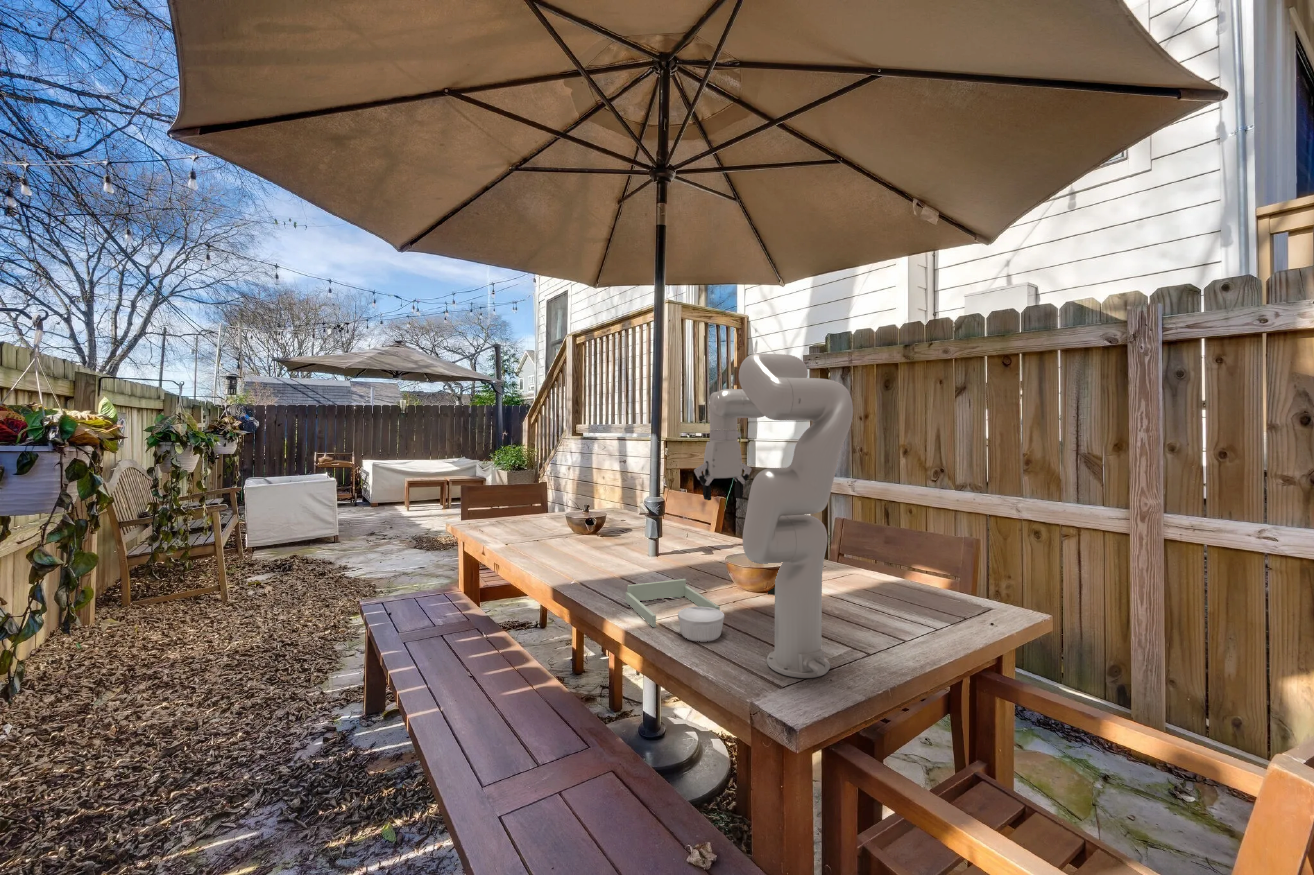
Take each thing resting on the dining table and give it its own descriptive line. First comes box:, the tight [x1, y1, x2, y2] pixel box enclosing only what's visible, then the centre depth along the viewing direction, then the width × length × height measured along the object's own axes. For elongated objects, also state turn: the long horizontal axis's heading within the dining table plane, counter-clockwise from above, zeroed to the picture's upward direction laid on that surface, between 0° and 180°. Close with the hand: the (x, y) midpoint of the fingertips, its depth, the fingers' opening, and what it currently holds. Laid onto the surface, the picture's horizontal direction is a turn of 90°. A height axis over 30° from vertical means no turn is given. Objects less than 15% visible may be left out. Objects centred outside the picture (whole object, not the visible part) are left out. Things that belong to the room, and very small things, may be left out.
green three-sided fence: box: [625, 578, 721, 628], centre depth 150 cm, size 21×19×5 cm
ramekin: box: [677, 606, 726, 643], centre depth 132 cm, size 11×11×5 cm
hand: (723, 498), depth 151 cm, fingers open, 9 cm apart
